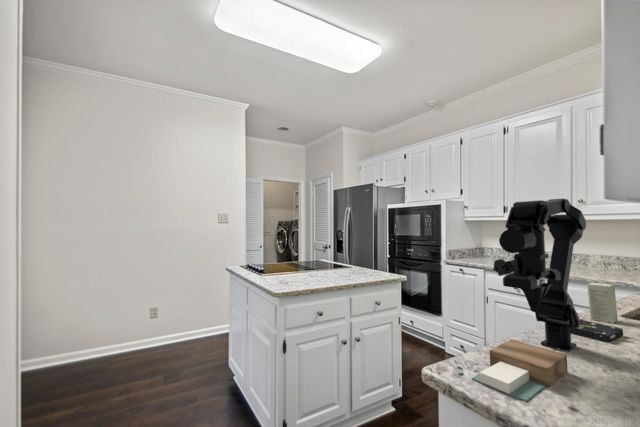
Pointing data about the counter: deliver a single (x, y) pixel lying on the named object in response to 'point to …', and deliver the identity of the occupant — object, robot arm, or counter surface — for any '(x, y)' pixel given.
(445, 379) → the counter surface
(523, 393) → the mat
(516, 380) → the cream rectangular block
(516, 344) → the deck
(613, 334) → the disk drive
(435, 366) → the counter surface
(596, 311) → the skincare box
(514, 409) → the counter surface
